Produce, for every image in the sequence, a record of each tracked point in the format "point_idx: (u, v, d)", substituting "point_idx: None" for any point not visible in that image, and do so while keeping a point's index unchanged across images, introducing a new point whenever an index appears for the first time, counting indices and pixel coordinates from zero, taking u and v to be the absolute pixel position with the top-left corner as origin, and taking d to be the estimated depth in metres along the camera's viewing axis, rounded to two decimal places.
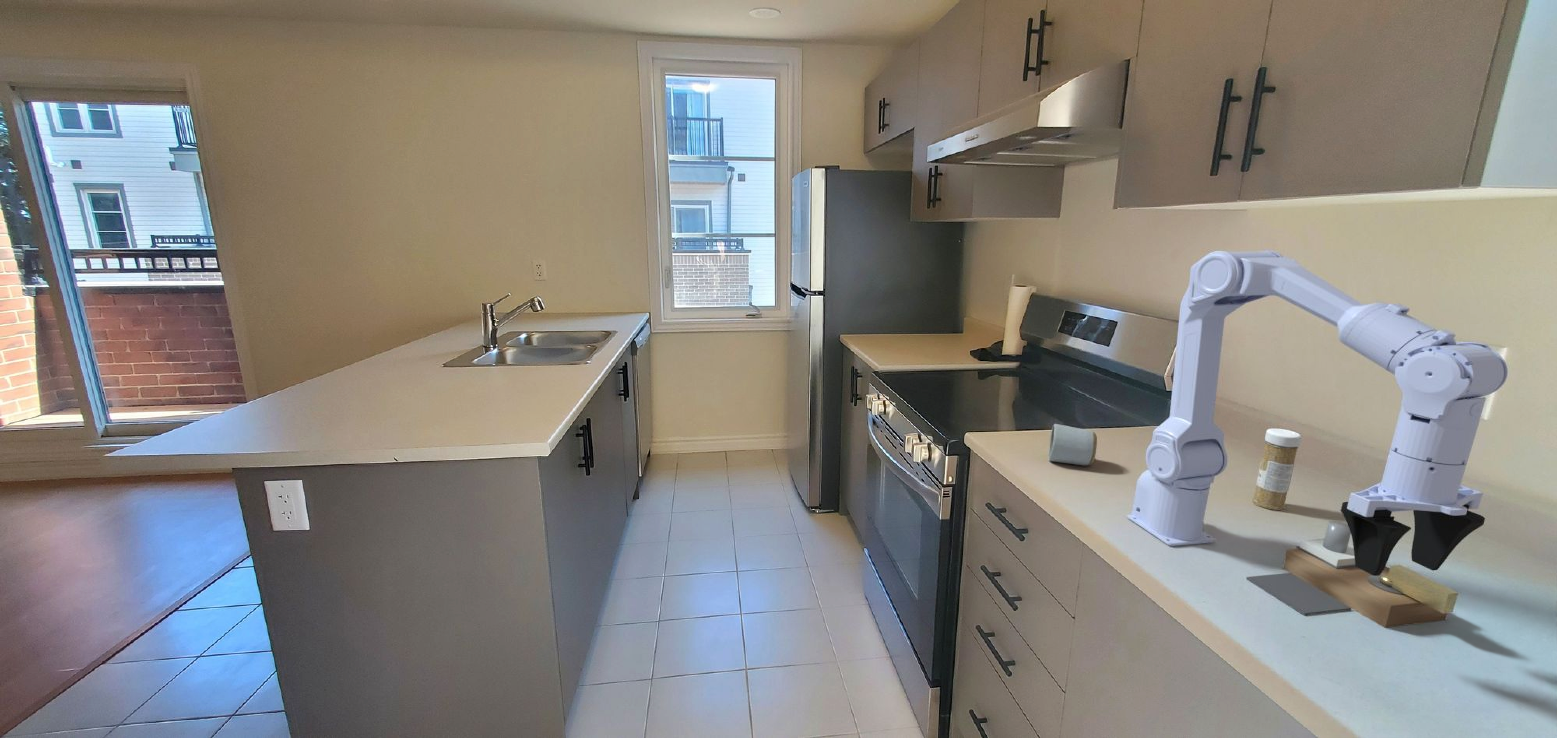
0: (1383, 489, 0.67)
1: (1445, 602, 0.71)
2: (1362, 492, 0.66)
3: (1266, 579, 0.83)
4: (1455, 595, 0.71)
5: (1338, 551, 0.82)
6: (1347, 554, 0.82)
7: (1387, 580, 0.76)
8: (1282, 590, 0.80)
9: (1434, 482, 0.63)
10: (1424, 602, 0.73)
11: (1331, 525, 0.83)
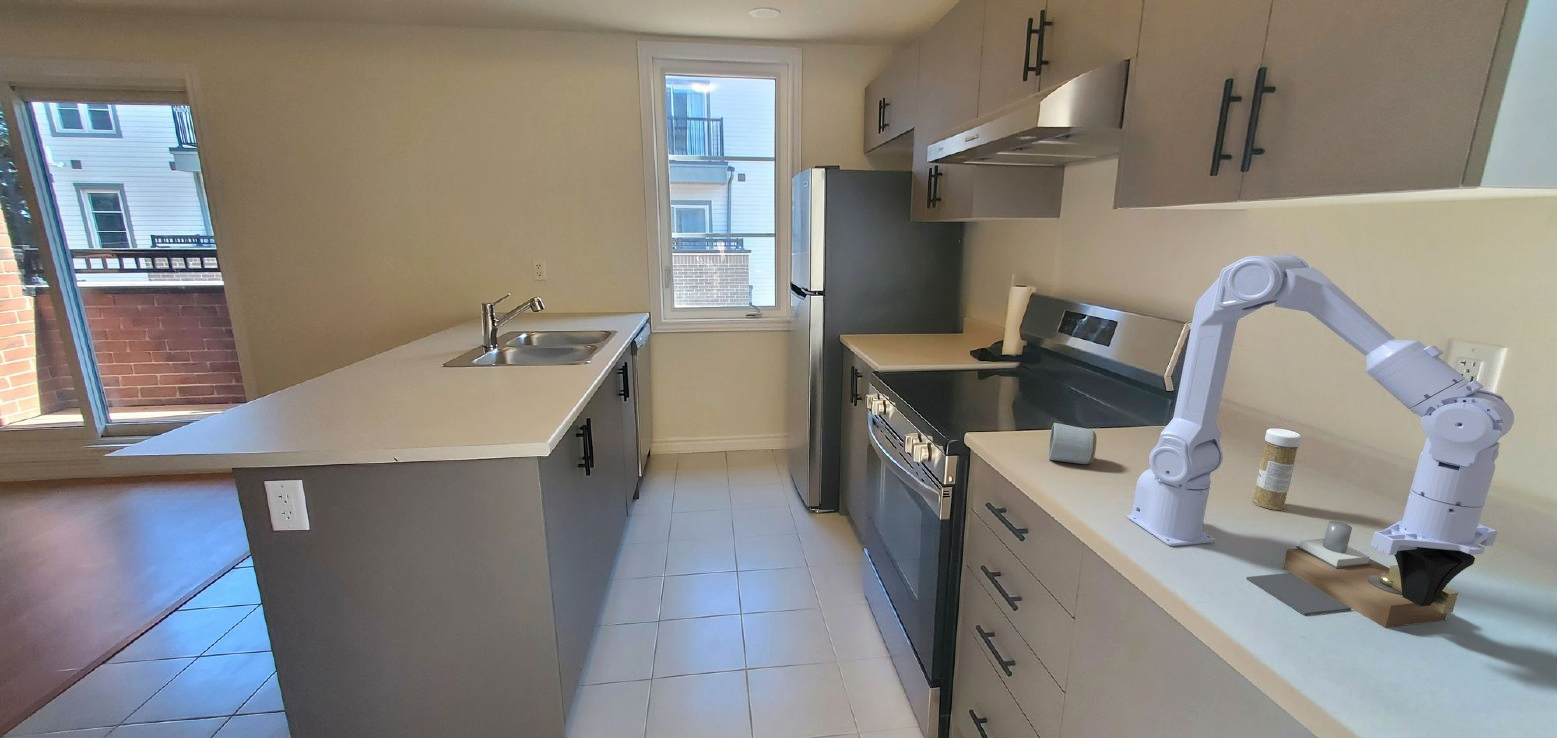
0: (1404, 527, 0.71)
1: (1445, 602, 0.71)
2: (1385, 531, 0.70)
3: (1266, 579, 0.83)
4: (1455, 595, 0.71)
5: (1338, 551, 0.82)
6: (1347, 554, 0.82)
7: (1387, 580, 0.76)
8: (1282, 590, 0.80)
9: (1453, 522, 0.67)
10: None
11: (1331, 525, 0.83)
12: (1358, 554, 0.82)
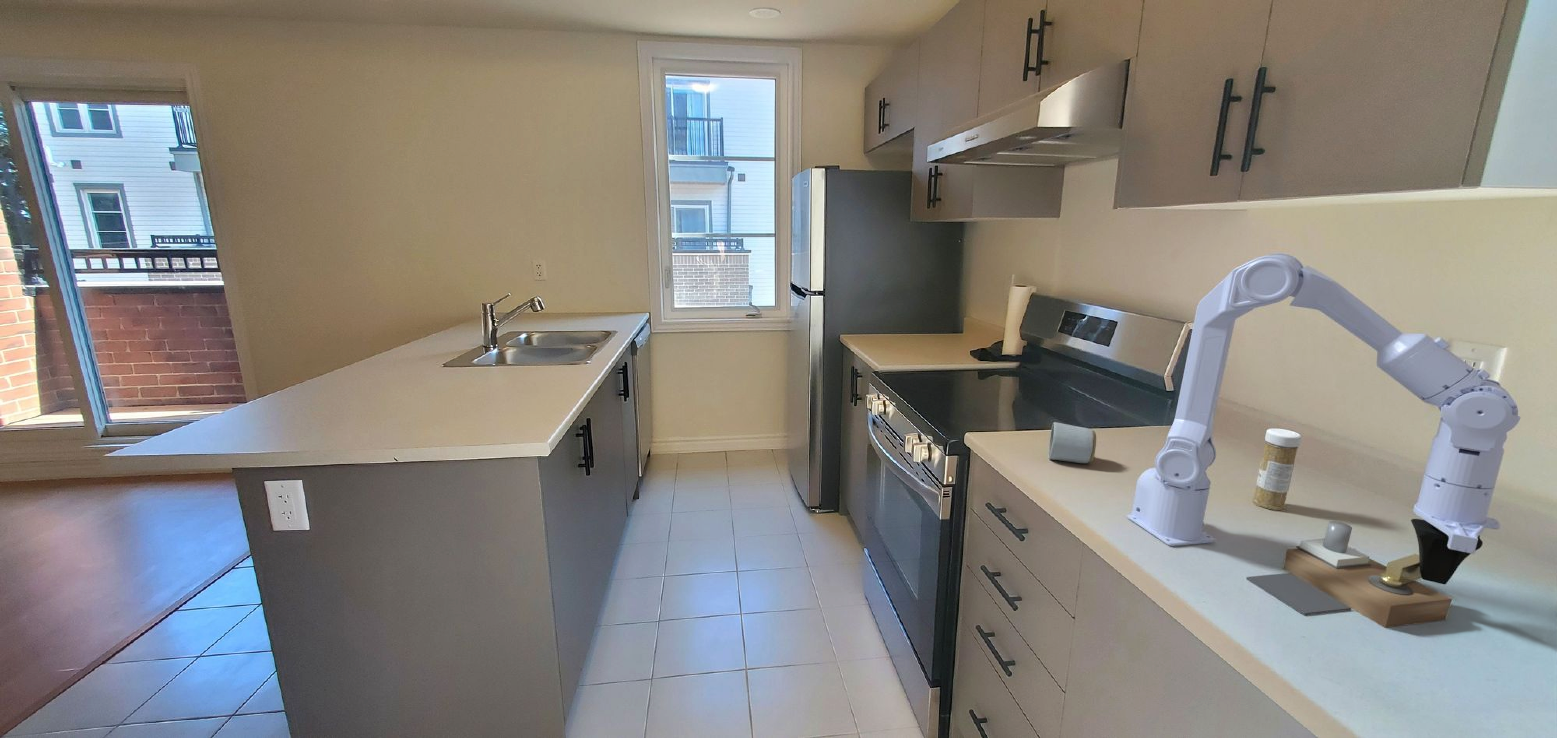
0: (1441, 518, 0.73)
1: None
2: (1449, 529, 0.70)
3: (1266, 579, 0.83)
4: None
5: (1338, 551, 0.82)
6: (1347, 554, 0.82)
7: (1402, 582, 0.76)
8: (1282, 590, 0.80)
9: (1486, 504, 0.71)
10: (1416, 578, 0.78)
11: (1331, 525, 0.83)
12: (1358, 554, 0.82)
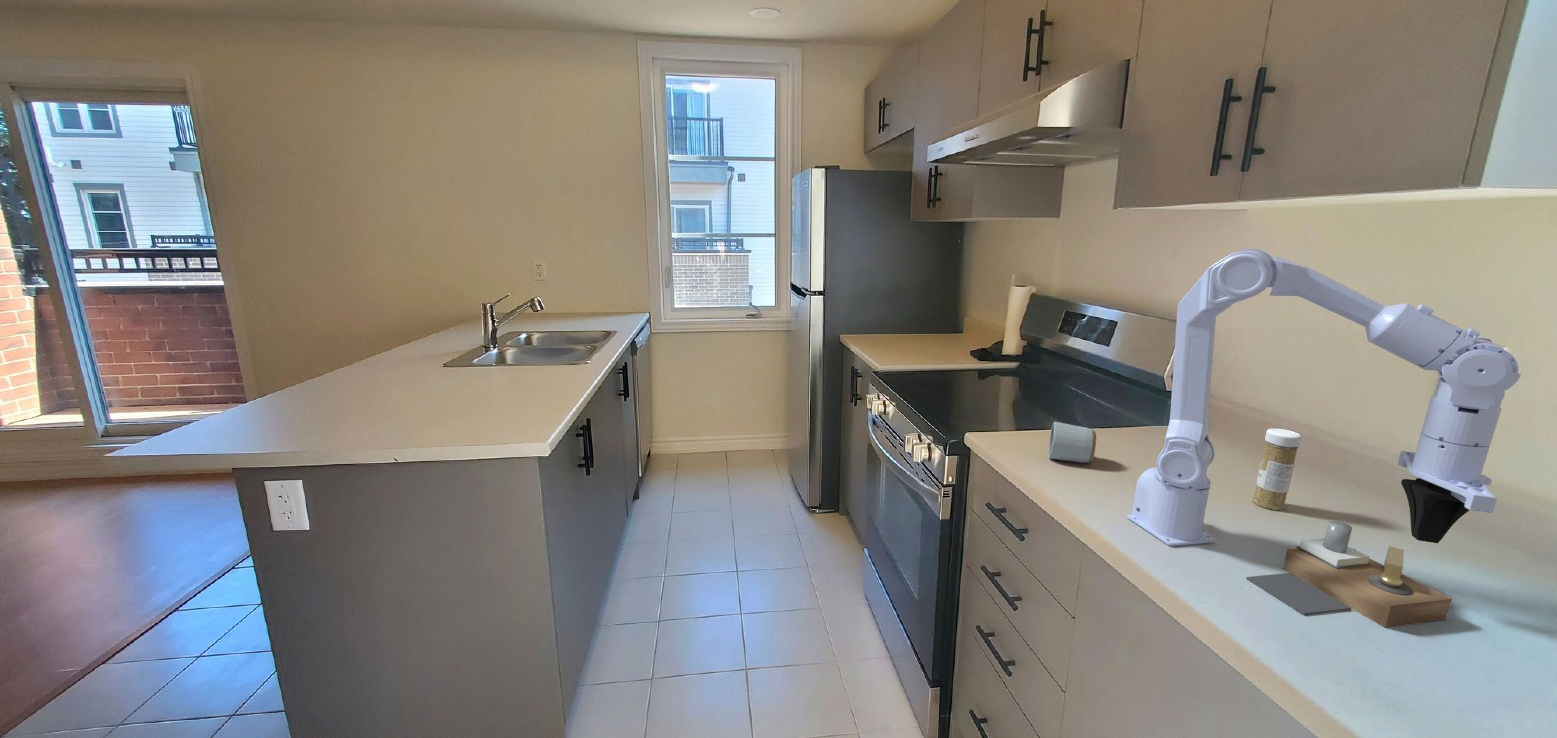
0: (1446, 479, 0.73)
1: None
2: (1464, 489, 0.70)
3: (1266, 579, 0.83)
4: None
5: (1338, 551, 0.82)
6: (1347, 554, 0.82)
7: (1402, 581, 0.76)
8: (1282, 590, 0.80)
9: (1484, 461, 0.72)
10: None
11: (1331, 525, 0.83)
12: (1358, 554, 0.82)
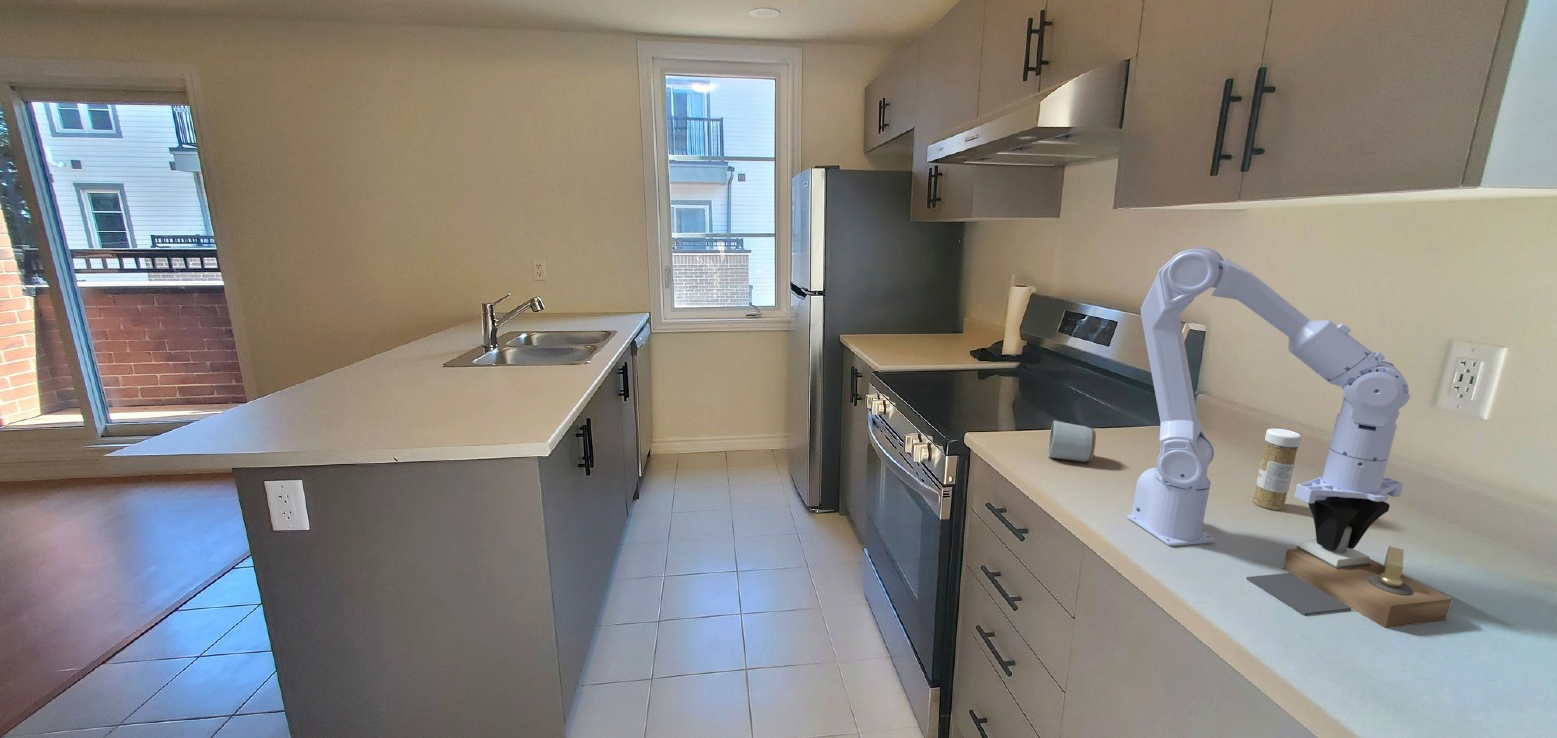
0: (1323, 481, 0.82)
1: None
2: (1306, 483, 0.81)
3: (1266, 579, 0.83)
4: None
5: (1338, 551, 0.82)
6: (1347, 554, 0.82)
7: (1402, 581, 0.76)
8: (1282, 590, 0.80)
9: (1362, 474, 0.78)
10: None
11: None
12: (1358, 554, 0.82)
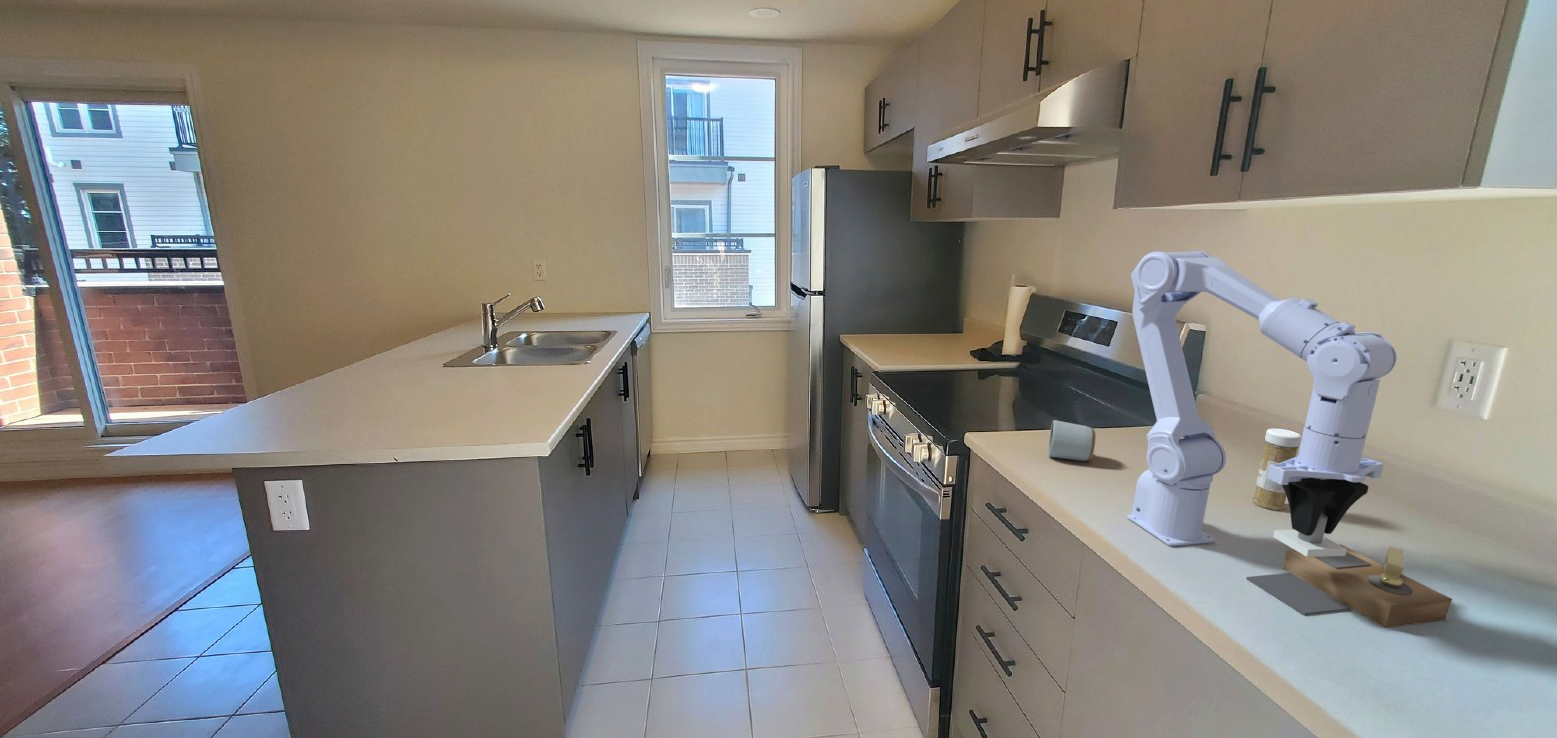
0: (1298, 461, 0.76)
1: None
2: (1280, 464, 0.76)
3: (1266, 579, 0.83)
4: None
5: (1312, 541, 0.77)
6: (1322, 545, 0.77)
7: (1402, 581, 0.76)
8: (1282, 590, 0.80)
9: (1338, 453, 0.73)
10: None
11: None
12: (1334, 546, 0.76)
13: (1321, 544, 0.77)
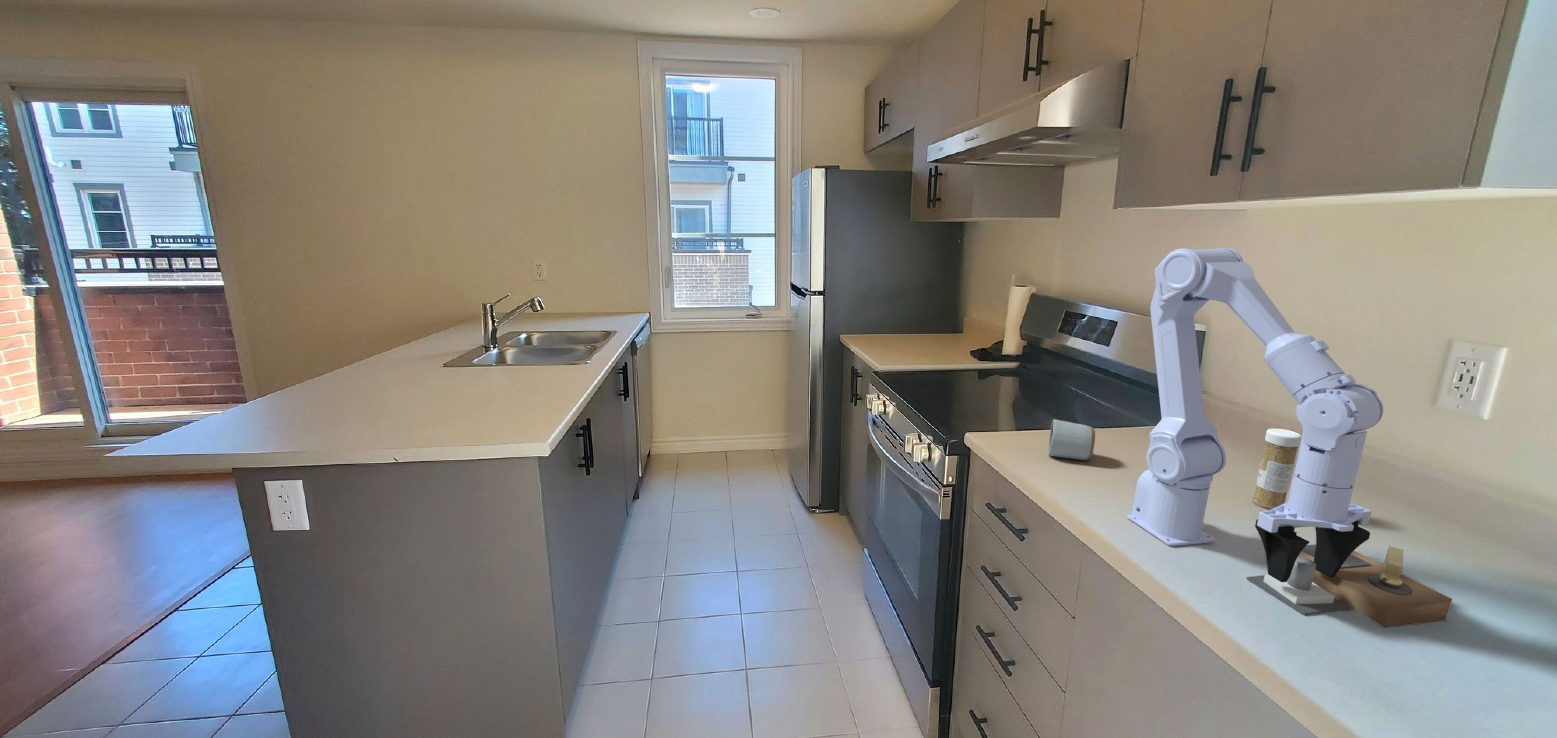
0: (1288, 508, 0.78)
1: None
2: (1269, 511, 0.77)
3: None
4: None
5: (1300, 588, 0.79)
6: (1310, 592, 0.78)
7: (1402, 581, 0.76)
8: None
9: (1326, 503, 0.74)
10: None
11: None
12: (1322, 593, 0.78)
13: (1310, 591, 0.78)
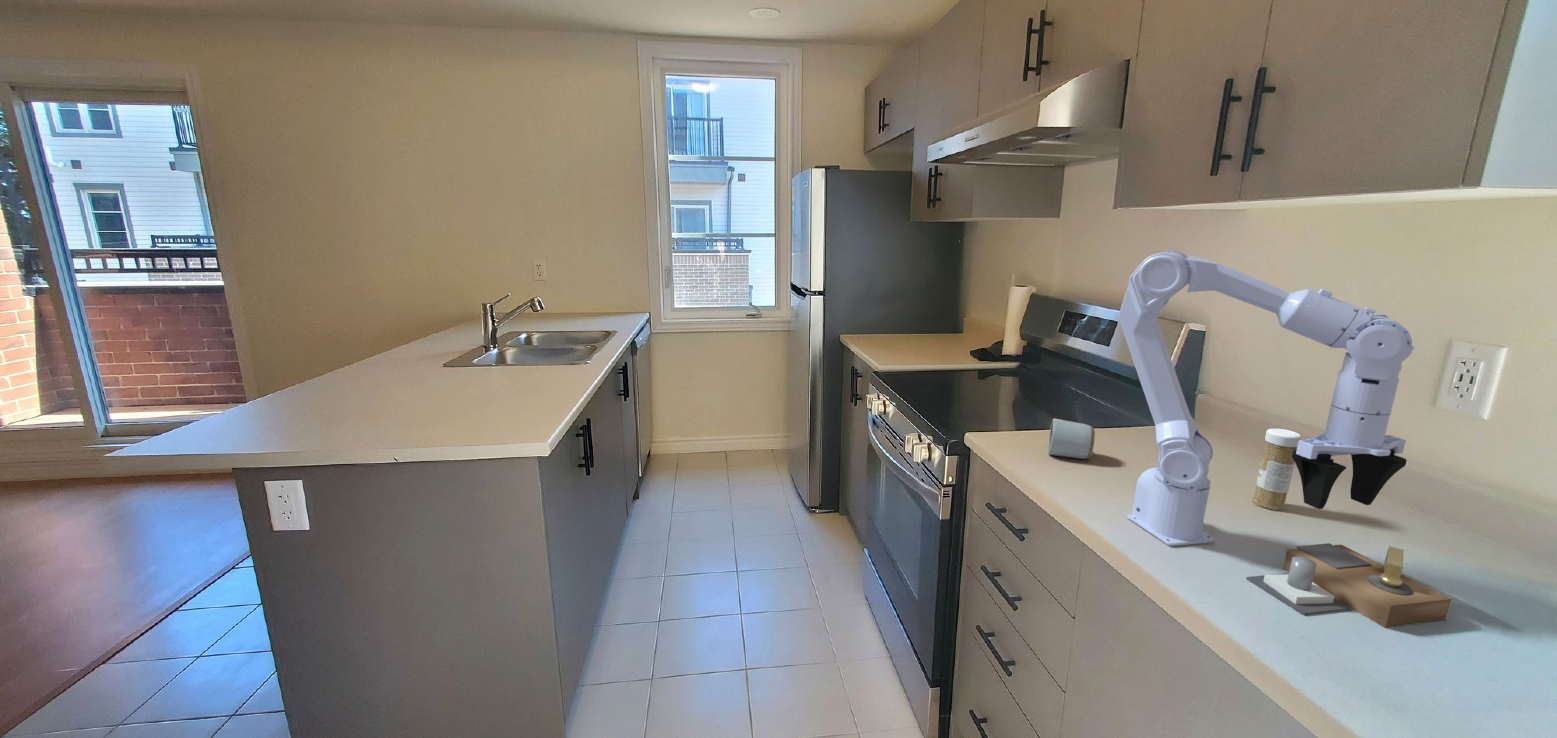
0: (1325, 438, 0.81)
1: None
2: (1308, 440, 0.81)
3: None
4: None
5: (1300, 588, 0.79)
6: (1310, 592, 0.78)
7: (1402, 581, 0.76)
8: None
9: (1364, 429, 0.78)
10: None
11: (1294, 561, 0.79)
12: (1322, 593, 0.78)
13: (1310, 591, 0.78)
